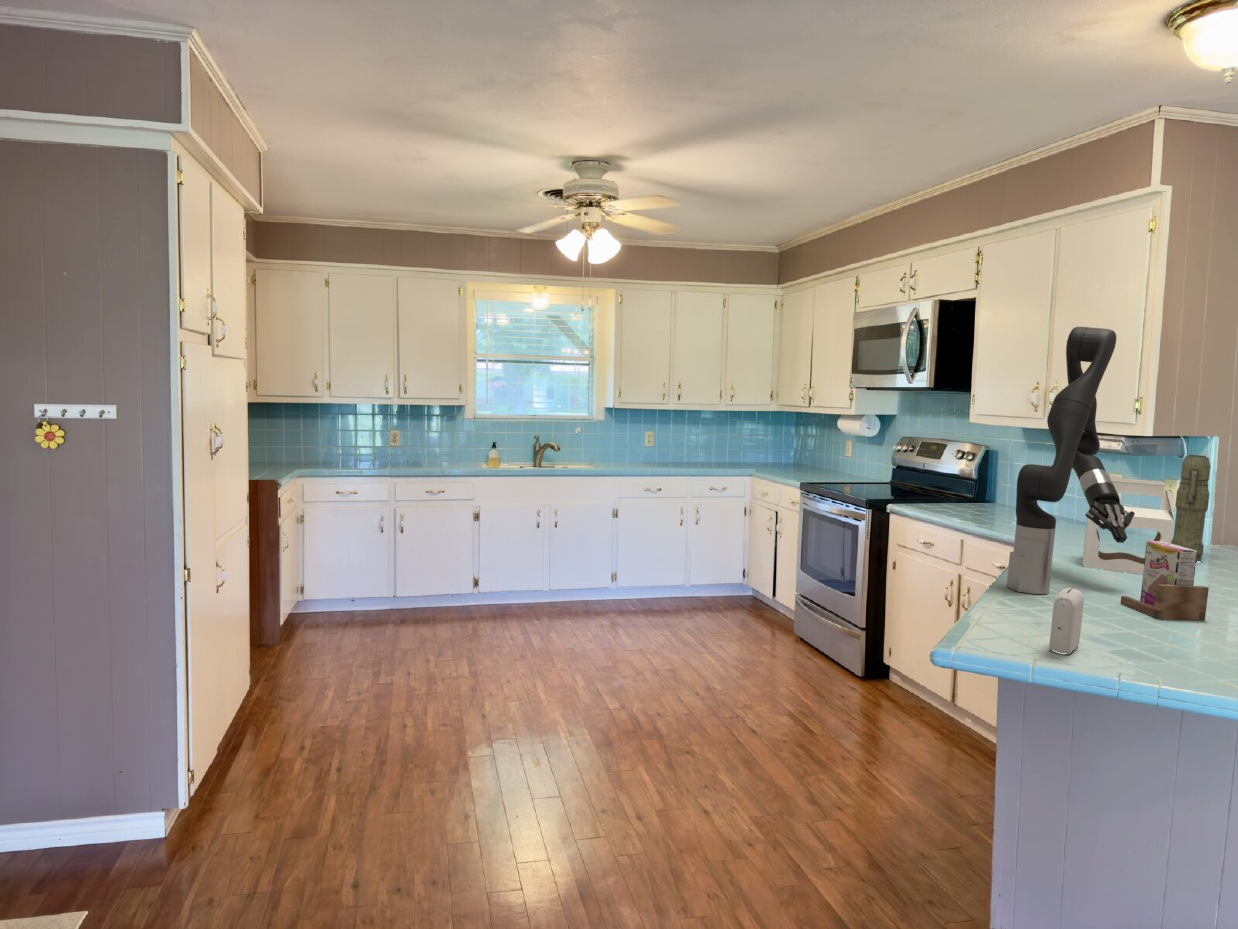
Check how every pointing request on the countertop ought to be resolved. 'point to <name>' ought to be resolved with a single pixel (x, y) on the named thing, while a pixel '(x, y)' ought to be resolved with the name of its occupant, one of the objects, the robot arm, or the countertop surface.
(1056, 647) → the photo printer
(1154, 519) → the gable box
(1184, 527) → the moai statue
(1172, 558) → the candy bar box
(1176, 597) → the walnut rack
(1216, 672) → the countertop surface
